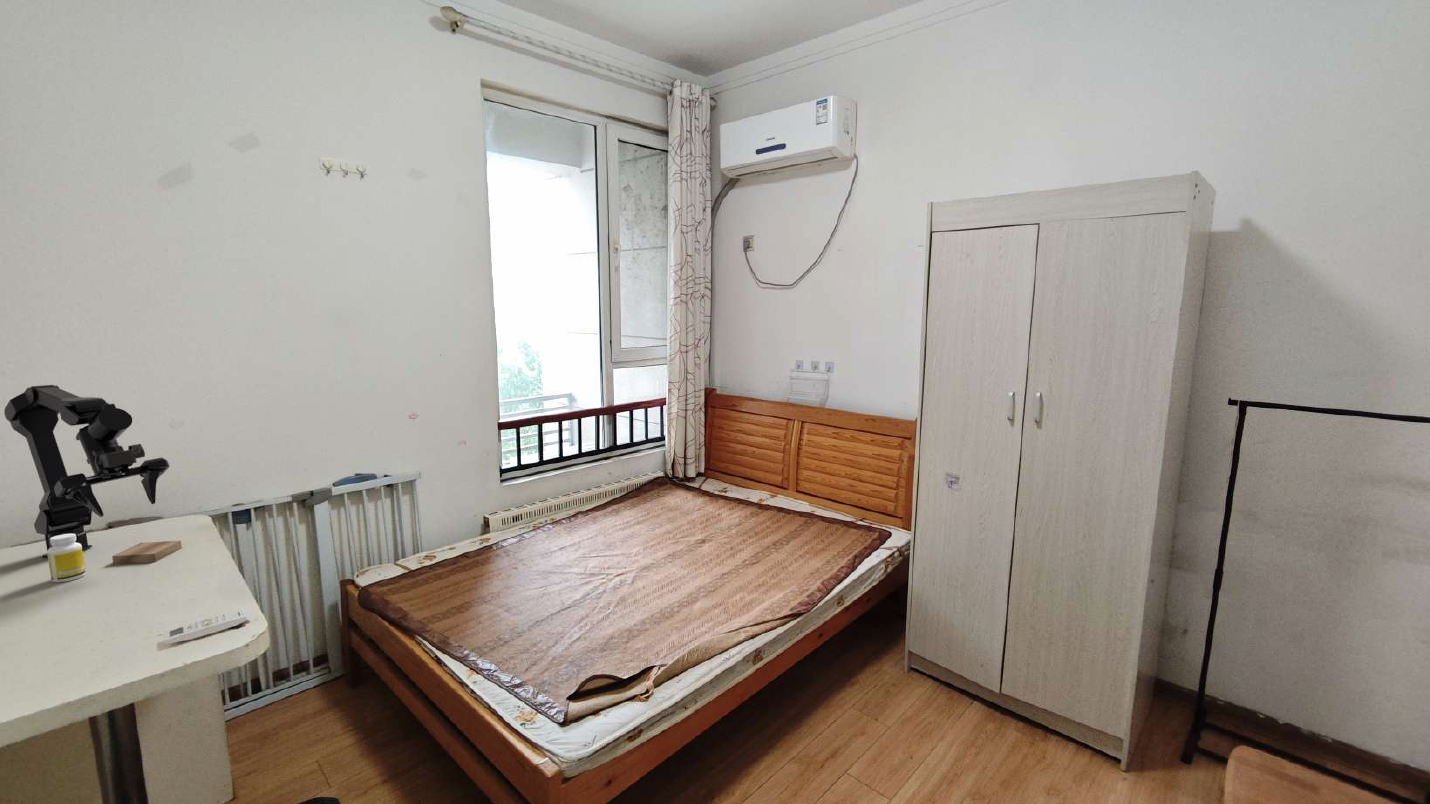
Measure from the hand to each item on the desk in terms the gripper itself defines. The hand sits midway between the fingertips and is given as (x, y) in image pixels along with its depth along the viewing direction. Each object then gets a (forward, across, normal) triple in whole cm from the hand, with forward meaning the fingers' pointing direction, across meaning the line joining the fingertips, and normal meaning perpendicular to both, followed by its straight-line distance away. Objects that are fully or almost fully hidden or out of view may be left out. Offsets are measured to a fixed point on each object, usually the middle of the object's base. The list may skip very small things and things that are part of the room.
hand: (128, 509), depth 141 cm
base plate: (+9, +5, +15) cm, 18 cm away
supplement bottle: (+8, -10, +14) cm, 19 cm away
